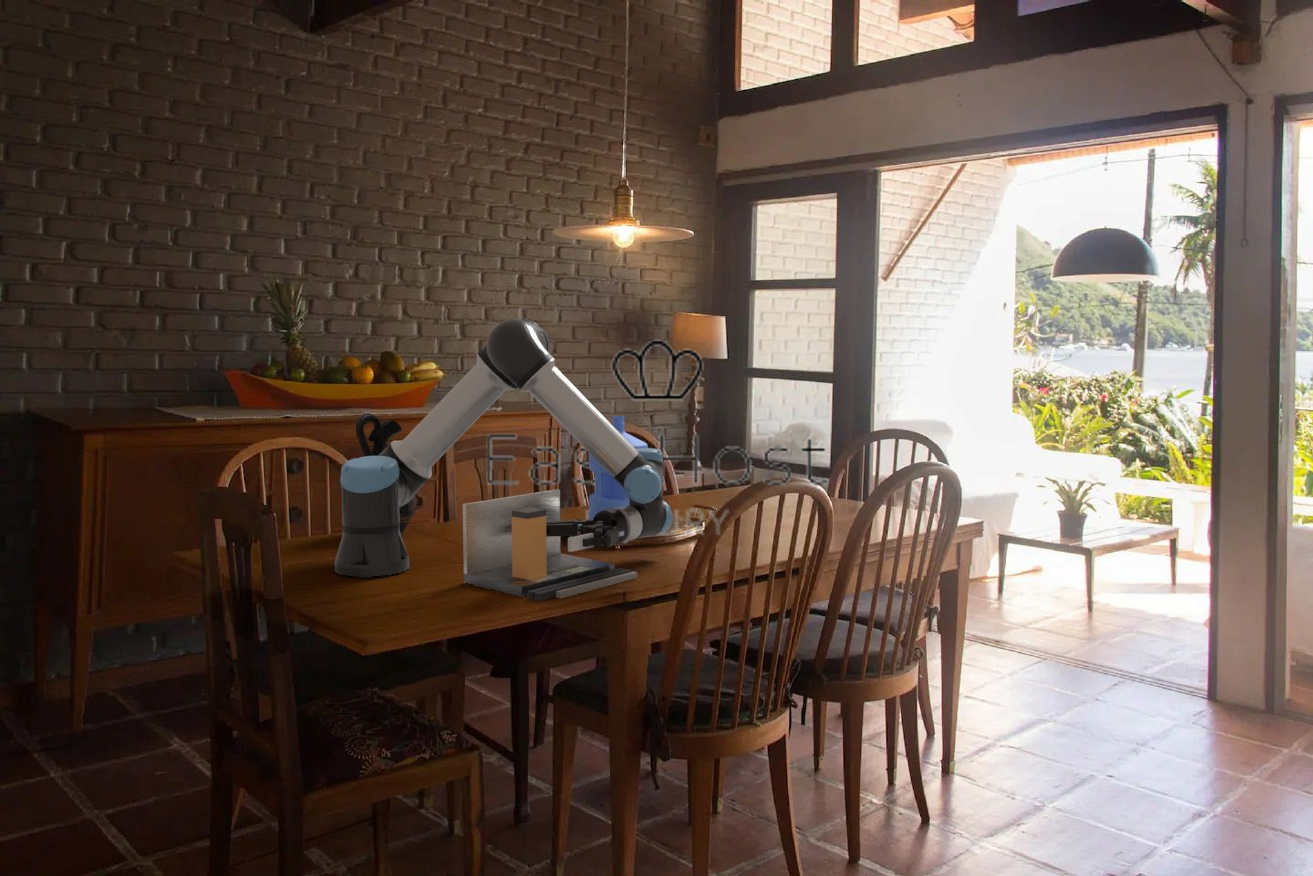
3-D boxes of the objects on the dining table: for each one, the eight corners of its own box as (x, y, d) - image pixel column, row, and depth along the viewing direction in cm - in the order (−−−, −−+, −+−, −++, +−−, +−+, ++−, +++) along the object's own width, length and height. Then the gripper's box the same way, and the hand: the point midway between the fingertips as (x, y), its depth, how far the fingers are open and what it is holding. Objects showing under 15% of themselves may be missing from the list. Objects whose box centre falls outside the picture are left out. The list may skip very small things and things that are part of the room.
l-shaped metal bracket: (521, 597, 201) (520, 513, 199) (463, 583, 212) (462, 504, 210) (614, 573, 221) (614, 497, 219) (557, 561, 232) (556, 489, 230)
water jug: (623, 515, 290) (623, 413, 287) (660, 523, 278) (660, 417, 275) (576, 521, 280) (576, 416, 277) (612, 530, 268) (612, 420, 265)
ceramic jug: (390, 526, 272) (387, 410, 269) (428, 534, 262) (426, 413, 259) (332, 536, 259) (329, 414, 256) (370, 544, 249) (367, 417, 246)
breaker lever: (528, 580, 206) (527, 513, 204) (512, 576, 209) (511, 510, 207) (546, 575, 210) (546, 509, 208) (531, 572, 212) (530, 507, 211)
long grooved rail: (544, 602, 197) (544, 595, 197) (527, 598, 200) (527, 591, 200) (637, 578, 217) (637, 571, 217) (619, 574, 220) (619, 567, 220)
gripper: (661, 550, 219) (590, 568, 203) (574, 535, 235) (502, 550, 219) (661, 514, 219) (590, 529, 202) (574, 502, 234) (502, 514, 218)
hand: (544, 540), depth 211 cm, fingers open, 13 cm apart
